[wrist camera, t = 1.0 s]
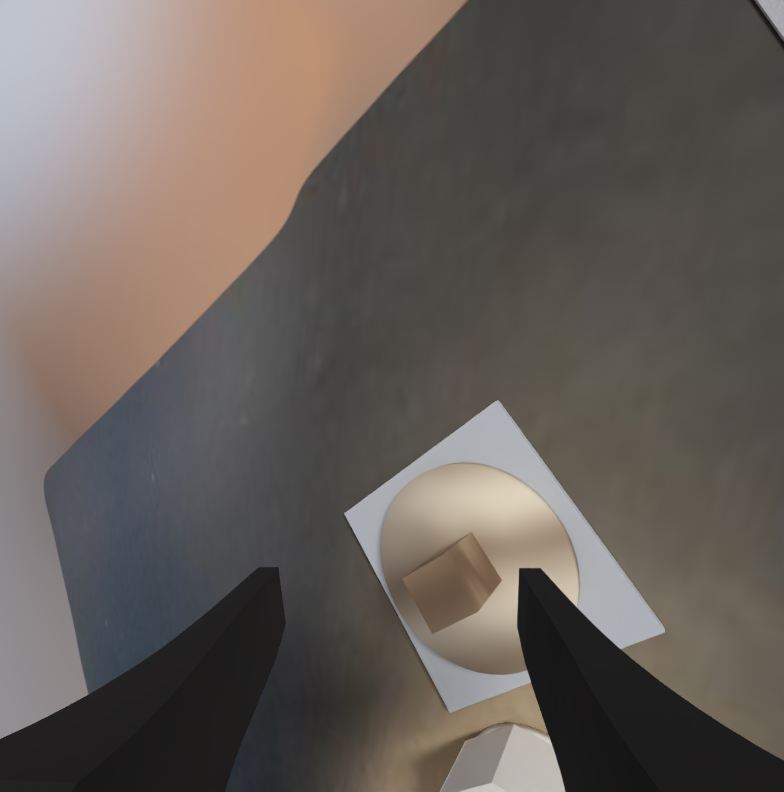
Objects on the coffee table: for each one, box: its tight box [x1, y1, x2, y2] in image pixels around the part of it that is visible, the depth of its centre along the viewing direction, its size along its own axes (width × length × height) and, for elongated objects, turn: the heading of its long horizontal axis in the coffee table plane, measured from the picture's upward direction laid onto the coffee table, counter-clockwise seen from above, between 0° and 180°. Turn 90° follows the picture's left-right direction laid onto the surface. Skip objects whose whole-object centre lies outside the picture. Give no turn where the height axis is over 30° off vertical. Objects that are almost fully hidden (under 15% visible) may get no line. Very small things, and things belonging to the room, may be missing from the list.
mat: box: [344, 401, 665, 713], centre depth 25 cm, size 14×14×1 cm
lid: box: [381, 462, 580, 675], centre depth 23 cm, size 12×12×5 cm
